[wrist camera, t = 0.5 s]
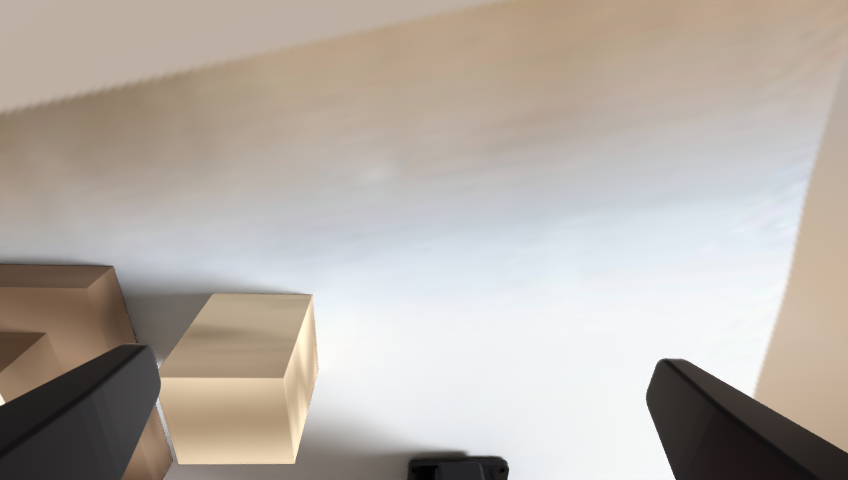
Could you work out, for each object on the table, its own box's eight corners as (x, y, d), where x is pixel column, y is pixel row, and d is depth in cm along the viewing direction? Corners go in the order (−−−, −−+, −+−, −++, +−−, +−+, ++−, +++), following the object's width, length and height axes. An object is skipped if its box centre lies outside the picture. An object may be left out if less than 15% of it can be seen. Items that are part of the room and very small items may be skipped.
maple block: (318, 368, 25) (294, 463, 19) (228, 368, 25) (178, 464, 19) (312, 294, 23) (283, 378, 17) (213, 292, 22) (152, 377, 17)
